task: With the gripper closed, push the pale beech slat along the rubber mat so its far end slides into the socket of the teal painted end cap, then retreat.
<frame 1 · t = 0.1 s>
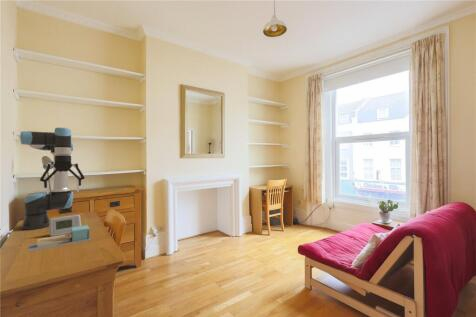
hand: (63, 192, 133), 28 cm above the table, fingers open, 13 cm apart
slat: (54, 242, 129), point 1 cm above the table, touching mat
end cap: (80, 238, 137), resting on mat
digital clock: (65, 234, 147), on the table
mat: (61, 243, 131), on the table
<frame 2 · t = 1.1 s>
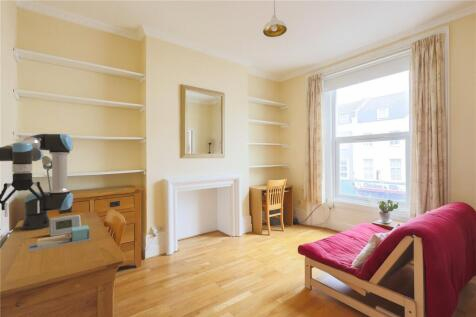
hand: (22, 214, 121), 18 cm above the table, fingers open, 12 cm apart
nothing on the table moved.
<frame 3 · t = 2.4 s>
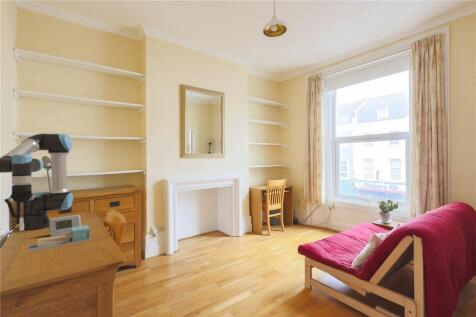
hand: (21, 229, 121), 10 cm above the table, fingers closed
nothing on the table moved.
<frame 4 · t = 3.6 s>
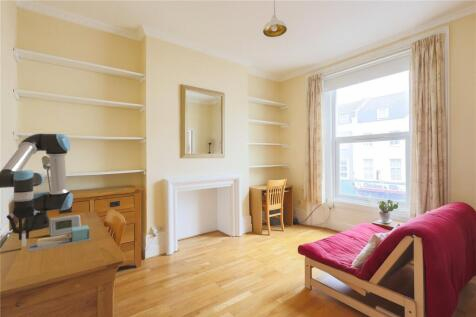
hand: (24, 245, 122), 2 cm above the table, fingers closed
nothing on the table moved.
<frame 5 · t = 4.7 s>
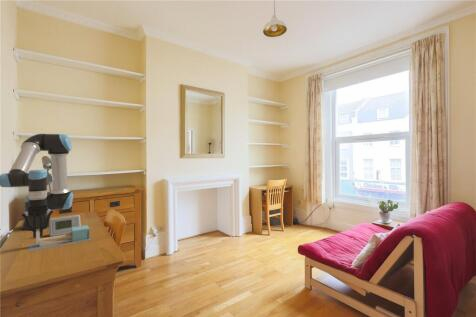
hand: (38, 242, 125), 2 cm above the table, fingers closed
slat: (56, 242, 130), point 1 cm above the table, touching gripper
everything else where it was.
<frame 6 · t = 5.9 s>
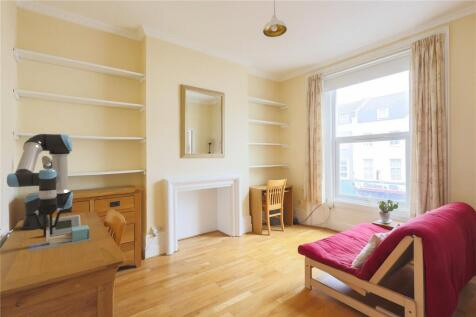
hand: (47, 241, 128), 2 cm above the table, fingers closed
slat: (65, 240, 133), point 1 cm above the table, touching gripper, mat
everything else where it was.
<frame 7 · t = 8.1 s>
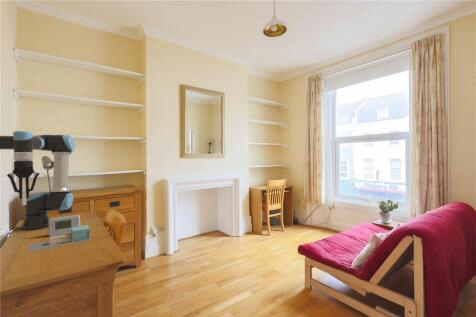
hand: (24, 204, 125), 23 cm above the table, fingers closed
slat: (65, 240, 133), point 1 cm above the table, touching mat
everything else where it was.
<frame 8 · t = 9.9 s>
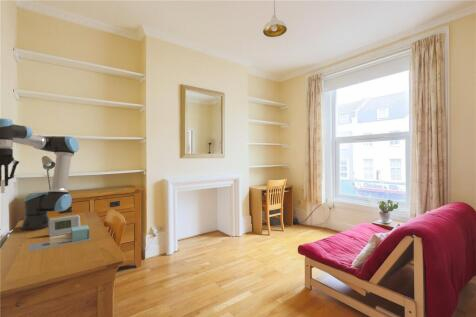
hand: (3, 192, 124), 29 cm above the table, fingers closed
nothing on the table moved.
at the end: slat 0.7 cm from the target spot, point 0.6 cm above the table; slat tilted 0° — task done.
